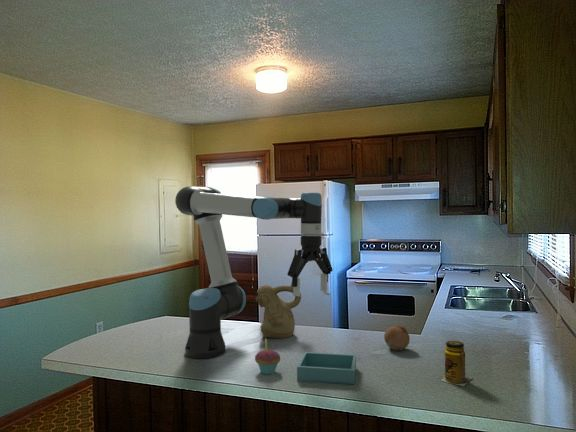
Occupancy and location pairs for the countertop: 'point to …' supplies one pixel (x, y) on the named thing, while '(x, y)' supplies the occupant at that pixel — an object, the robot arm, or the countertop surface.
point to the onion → (397, 337)
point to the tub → (327, 368)
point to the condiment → (455, 364)
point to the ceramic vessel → (277, 311)
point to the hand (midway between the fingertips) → (310, 293)
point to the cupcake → (267, 360)
